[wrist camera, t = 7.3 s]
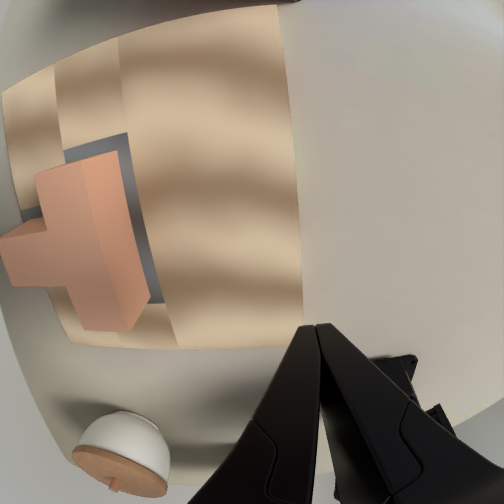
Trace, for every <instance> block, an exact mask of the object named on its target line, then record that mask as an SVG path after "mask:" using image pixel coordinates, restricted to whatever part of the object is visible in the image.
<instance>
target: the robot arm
mask: <svg viewBox="0 0 504 504" xmlns="http://www.w3.org/2000/svg"><path fill="white" fill-rule="evenodd" d="M417 362H418V359H417V357H416V356H415V355H412V356H406V357H401V358H395V359H389V360H383V361H377V362H371V361H370V360H369V359H368V358H367V357H366V356H365V355H364V354H363V353H362V352H361V351H360V350H359V349H358V348H357V347H356V346H355V345H353V344H352V343H351V342H350V341H349V340H348V339H347V338H346V337H345V336H344V335H343V334H342V333H341V332H340V331H339V330H338V329H337V328H335V327H334V326H333V325H332V324H331V323H324V324H317V325H315V326H314V325H303V326H299V327H298V328H297V330H296V332H295V334H294V336H293V338H292V340H291V342H290V344H289V347H288V349H287V351H286V353H285V355H284V357H283V359H282V361H281V363H280V365H279V367H278V369H277V371H276V372H275V374H274V376H273V378H272V380H271V382H270V384H269V386H268V388H267V390H266V392H265V394H264V395H263V397H262V399H261V401H260V403H259V405H258V407H257V408H256V410H255V412H254V414H253V416H252V420H250V421H249V423H248V424H247V426H246V428H245V430H244V432H243V433H242V435H241V436H240V438H239V440H238V441H237V443H236V444H235V446H234V448H233V449H232V451H231V452H230V453H229V454H228V456H227V457H226V458H225V460H224V461H223V462H222V464H221V465H220V466H219V468H218V469H217V470H216V471H215V472H214V474H213V475H212V476H211V477H210V478H209V479H208V481H207V482H206V483H205V484H204V485H203V486H202V487H201V489H200V490H199V491H198V492H197V493H196V494H195V495H194V496H193V498H192V499H191V500H190V501H189V502H188V503H187V504H312V496H313V487H314V477H315V467H316V456H317V443H318V429H319V412H320V408H321V413H322V417H323V421H324V426H325V430H326V435H327V439H328V444H329V448H330V453H331V458H332V462H333V467H334V472H335V477H336V479H335V480H336V482H335V490H334V498H335V499H336V500H338V501H340V503H341V504H504V468H501V467H499V466H497V465H495V464H494V463H492V462H490V461H489V460H487V459H486V458H484V457H483V456H482V455H480V454H479V453H477V452H476V451H475V450H473V449H472V448H470V447H469V446H467V445H466V444H465V443H464V442H462V441H461V440H459V439H458V438H457V437H456V435H455V432H454V430H453V429H452V426H451V424H450V422H449V420H448V419H447V417H446V415H445V413H444V411H443V409H442V407H441V405H440V403H439V404H437V405H435V406H433V408H431V409H429V410H427V411H423V410H422V409H421V406H420V404H419V401H418V399H417V396H416V394H415V391H414V388H413V386H412V384H411V381H412V378H413V375H414V372H415V369H416V365H417Z"/></svg>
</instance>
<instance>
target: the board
mask: <svg viewBox="0 0 504 504" xmlns="http://www.w3.org/2000/svg"><path fill="white" fill-rule="evenodd" d="M2 105H3V117H4V126H5V135H6V142H7V149H8V155H9V161H10V166H11V172H12V177H13V181H14V186H15V191H16V195H17V199H18V203H19V207H20V211H21V215H22V218H23V222H24V223H25V222H26V221H28V220H30V219H35V218H39V217H43V213H42V209H41V205H40V201H39V197H38V193H37V188H36V183H35V179H34V174H37V173H40V172H43V171H46V170H49V169H51V168H54V167H57V166H60V165H63V164H66V163H70V162H73V161H76V160H80V159H84V158H87V157H91V156H95V155H99V154H103V153H107V152H111V151H115V150H117V152H118V159H119V164H120V170H121V176H122V181H123V186H124V191H125V196H126V201H127V206H128V210H129V215H130V219H131V224H132V228H133V232H134V237H135V241H136V245H137V249H138V253H139V257H140V260H141V264H142V268H143V272H144V275H145V279H146V282H147V286H148V289H149V293H150V296H151V297H150V299H149V301H148V302H147V304H146V306H145V307H144V309H143V311H142V312H141V314H140V316H139V317H138V319H137V321H136V323H135V324H134V326H133V328H132V330H131V331H130V333H126V332H103V331H85V330H84V329H83V327H82V325H81V322H80V320H79V318H78V315H77V313H76V311H75V308H74V306H73V303H72V301H71V298H70V296H69V293H68V291H67V288H66V286H52V287H46V289H47V292H48V294H49V296H50V299H51V301H52V303H53V306H54V308H55V310H56V313H57V315H58V317H59V319H60V321H61V323H62V326H63V328H64V330H65V332H66V334H67V336H68V338H69V340H70V342H71V344H79V345H90V346H104V347H119V348H140V349H180V350H204V349H245V348H266V347H283V346H289V344H290V342H291V340H292V338H293V336H294V334H295V332H296V330H297V328H298V327H299V326H303V294H302V267H301V246H300V227H299V211H298V196H297V182H296V169H295V157H294V145H293V134H292V124H291V114H290V105H289V95H288V87H287V78H286V70H285V62H284V54H283V46H282V39H281V32H280V25H279V18H278V12H277V5H276V4H275V5H261V6H251V7H242V8H234V9H227V10H220V11H214V12H209V13H203V14H198V15H193V16H188V17H184V18H179V19H175V20H171V21H167V22H163V23H159V24H156V25H152V26H149V27H145V28H142V29H139V30H135V31H132V32H129V33H126V34H123V35H120V36H117V37H115V38H112V39H109V40H106V41H104V42H101V43H99V44H96V45H94V46H91V47H89V48H86V49H84V50H82V51H79V52H77V53H75V54H73V55H70V56H68V57H66V58H64V59H62V60H60V61H58V62H56V63H54V64H52V65H50V66H48V67H46V68H44V69H42V70H40V71H38V72H36V73H35V74H33V75H31V76H29V77H27V78H26V79H24V80H22V81H20V82H19V83H17V84H15V85H14V86H12V87H11V88H9V89H7V90H6V91H4V92H3V93H2Z"/></svg>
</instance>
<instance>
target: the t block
mask: <svg viewBox="0 0 504 504" xmlns="http://www.w3.org/2000/svg"><path fill="white" fill-rule="evenodd" d="M34 179H35V183H36V188H37V193H38V197H39V201H40V205H41V209H42V213H43V217H39V218H35V219H30V220H28V221H26V222H25V223H23V224H21V225H20V226H18V227H16V228H15V229H13V230H11V231H10V232H8V233H6V234H5V235H3V236H1V237H0V255H1V257H2V260H3V263H4V266H5V269H6V271H7V274H8V276H9V279H10V282H11V284H12V286H13V287H52V286H66V288H67V291H68V293H69V296H70V298H71V301H72V303H73V306H74V308H75V311H76V313H77V315H78V318H79V320H80V322H81V325H82V327H83V329H84V330H85V331H103V332H126V333H130V331H131V330H132V328H133V326H134V324H135V323H136V321H137V319H138V317H139V316H140V314H141V312H142V311H143V309H144V307H145V306H146V304H147V302H148V301H149V299H150V297H151V296H150V293H149V289H148V286H147V282H146V279H145V275H144V272H143V268H142V264H141V260H140V257H139V253H138V249H137V245H136V241H135V237H134V232H133V228H132V224H131V219H130V215H129V210H128V206H127V201H126V196H125V191H124V186H123V181H122V176H121V170H120V164H119V159H118V152H117V150H115V151H111V152H107V153H103V154H99V155H95V156H91V157H87V158H84V159H80V160H76V161H73V162H70V163H66V164H63V165H60V166H57V167H54V168H51V169H49V170H46V171H43V172H40V173H37V174H34Z"/></svg>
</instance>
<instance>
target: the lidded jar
mask: <svg viewBox="0 0 504 504" xmlns="http://www.w3.org/2000/svg"><path fill="white" fill-rule="evenodd" d="M72 458H73V460H74V462H75V463H76V464H77V465H78V466H79V467H80V468H81V469H82V470H83V471H85V472H86V473H87V474H88V475H90V476H91V477H93V478H95V479H96V480H98V481H100V482H102V483H104V484H106V485H108V486H109V489H110V490H112V491H114V492H118V490H120V491H122V492H126V493H129V494H132V495H136V496H141V497H149V498H158V497H162V496H164V495H165V494H166V492H167V488H168V486H167V483H168V479H169V474H170V465H171V462H170V452H169V448H168V446H167V443H166V441H165V440H164V438H163V437H162V435H161V434H160V430H159V428H158V427H157V426H156V425H155V424H154V423H153V422H151V421H150V420H148V419H147V418H145V417H143V416H140V415H138V414H135V413H132V412H128V411H117V412H114V413H113V414H108V415H105V416H102V417H100V418H98V419H96V420H95V421H94V422H92V423H91V424H90V425H89V427H88V428H87V429H86V430H85V432H84V433H83V435H82V437H81V438H80V440H79V442H78V444H77V446H76V447H75V449H74V450H73V453H72Z"/></svg>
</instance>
